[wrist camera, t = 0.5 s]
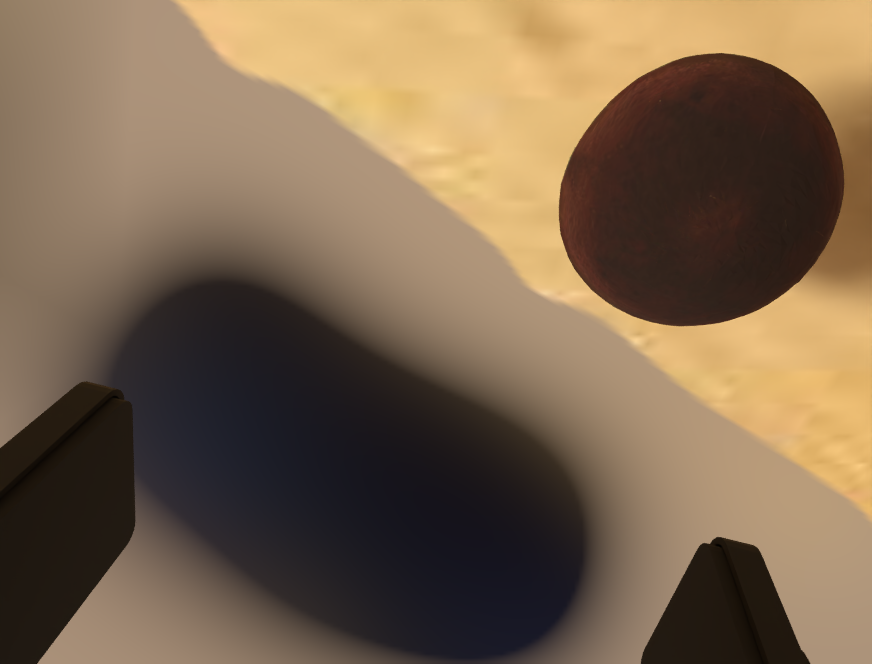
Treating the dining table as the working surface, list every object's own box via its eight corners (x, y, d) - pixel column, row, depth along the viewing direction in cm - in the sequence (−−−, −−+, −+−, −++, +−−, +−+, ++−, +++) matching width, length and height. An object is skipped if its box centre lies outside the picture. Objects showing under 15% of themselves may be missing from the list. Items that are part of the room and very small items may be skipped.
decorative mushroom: (523, 207, 38) (517, 311, 25) (606, 10, 33) (654, 10, 20) (694, 273, 39) (779, 410, 25) (802, 88, 34) (978, 139, 20)
